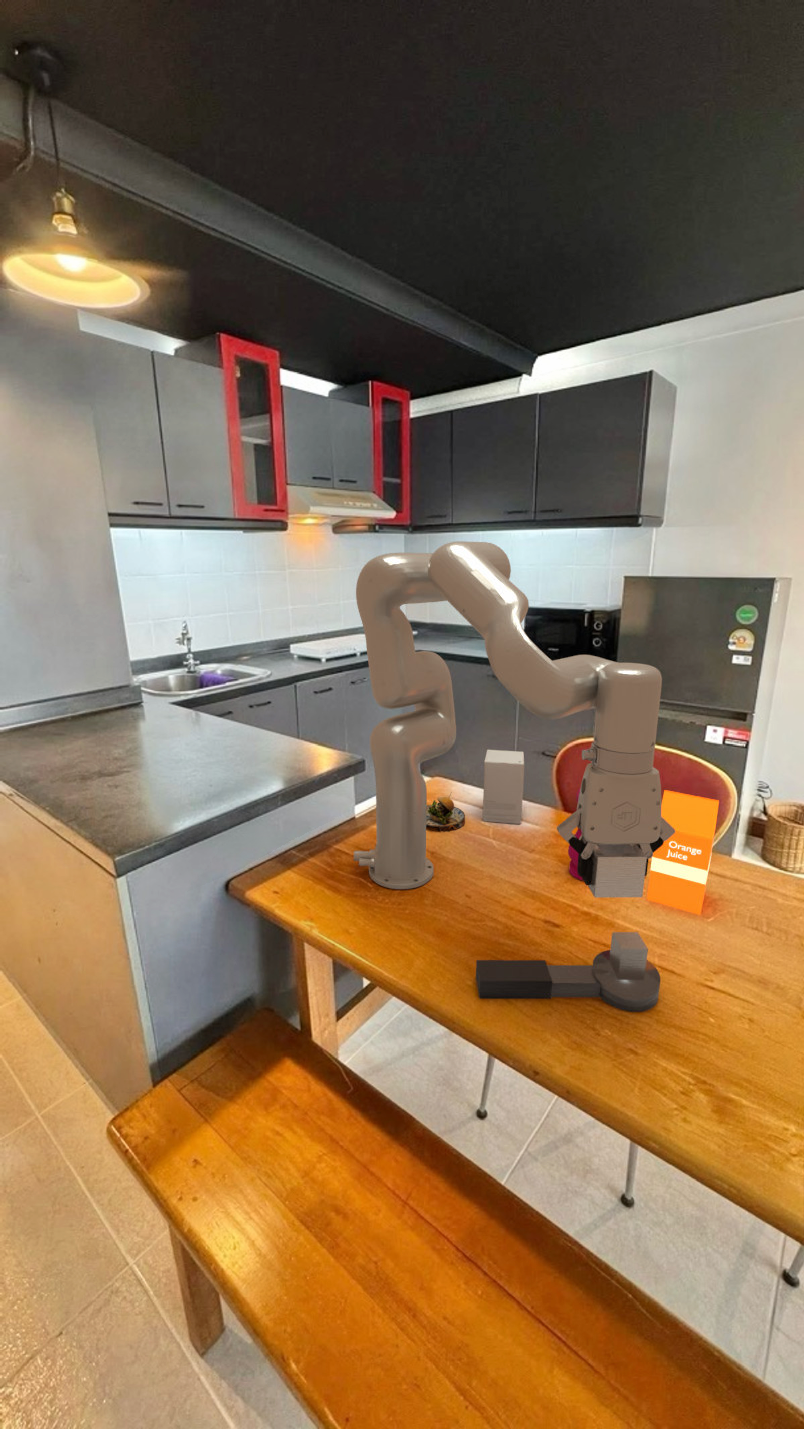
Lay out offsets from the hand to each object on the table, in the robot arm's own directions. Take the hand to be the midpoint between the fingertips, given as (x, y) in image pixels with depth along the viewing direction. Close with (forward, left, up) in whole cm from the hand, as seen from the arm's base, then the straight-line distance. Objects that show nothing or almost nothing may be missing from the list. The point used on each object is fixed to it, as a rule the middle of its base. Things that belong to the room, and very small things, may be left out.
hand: (611, 879), depth 80 cm
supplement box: (-5, +55, -17) cm, 58 cm away
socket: (0, 0, -1) cm, 1 cm away
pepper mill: (+7, +29, -17) cm, 34 cm away
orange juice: (+21, +21, -17) cm, 34 cm away
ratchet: (-5, -2, -16) cm, 17 cm away
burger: (-20, +52, -17) cm, 58 cm away
